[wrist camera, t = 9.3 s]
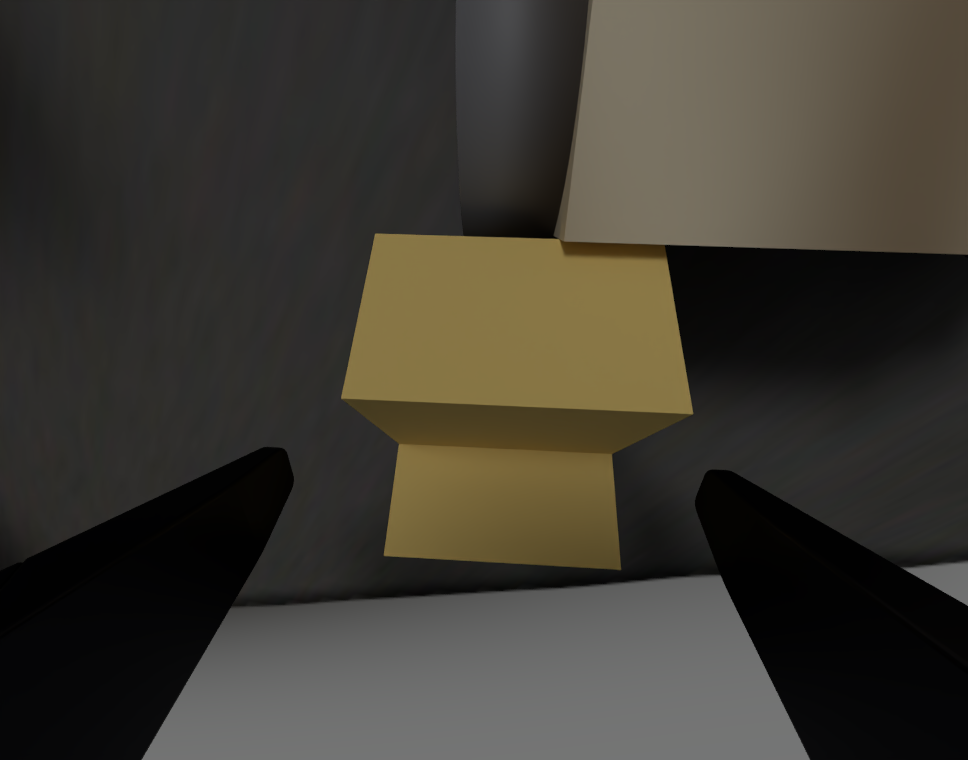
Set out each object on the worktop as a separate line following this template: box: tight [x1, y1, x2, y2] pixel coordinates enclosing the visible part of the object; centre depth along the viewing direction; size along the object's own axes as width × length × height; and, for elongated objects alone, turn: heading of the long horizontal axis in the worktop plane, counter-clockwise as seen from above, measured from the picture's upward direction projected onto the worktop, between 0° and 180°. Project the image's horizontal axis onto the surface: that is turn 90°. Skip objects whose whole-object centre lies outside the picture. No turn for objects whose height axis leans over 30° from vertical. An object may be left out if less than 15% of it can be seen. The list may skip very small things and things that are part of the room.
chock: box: [341, 234, 693, 570], centre depth 8 cm, size 5×7×5 cm
